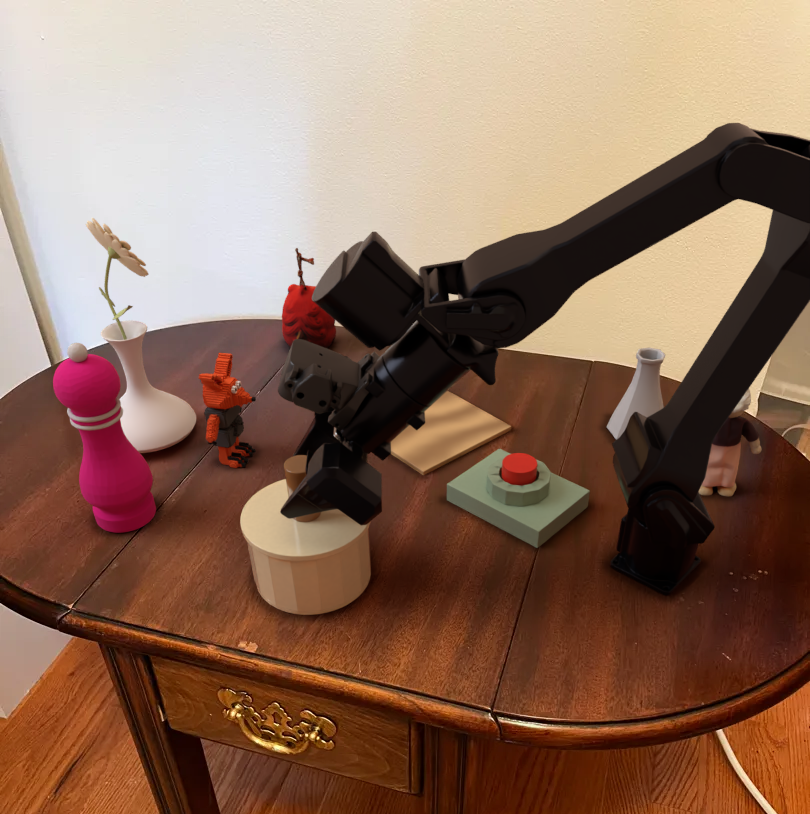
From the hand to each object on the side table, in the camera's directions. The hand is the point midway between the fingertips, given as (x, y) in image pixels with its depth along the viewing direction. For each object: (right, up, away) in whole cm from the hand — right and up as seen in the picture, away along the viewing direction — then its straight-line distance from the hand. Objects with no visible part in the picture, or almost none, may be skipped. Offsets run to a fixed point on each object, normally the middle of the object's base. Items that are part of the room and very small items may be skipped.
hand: (287, 491), depth 75 cm
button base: (+22, 0, +14) cm, 27 cm away
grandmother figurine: (+44, +1, +16) cm, 46 cm away
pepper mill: (-19, -2, +14) cm, 24 cm away
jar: (+2, -8, +6) cm, 10 cm away
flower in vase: (-21, +9, +27) cm, 35 cm away
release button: (+22, +2, +12) cm, 25 cm away
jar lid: (+1, -2, +2) cm, 3 cm away
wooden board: (+13, +9, +26) cm, 31 cm away
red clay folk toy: (-3, +23, +43) cm, 49 cm away
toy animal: (-8, +5, +22) cm, 24 cm away
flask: (+38, +9, +25) cm, 46 cm away
